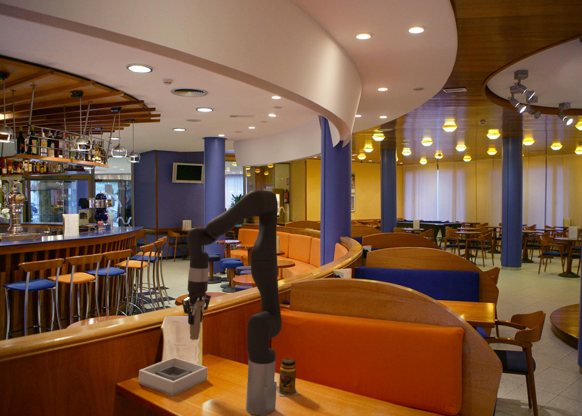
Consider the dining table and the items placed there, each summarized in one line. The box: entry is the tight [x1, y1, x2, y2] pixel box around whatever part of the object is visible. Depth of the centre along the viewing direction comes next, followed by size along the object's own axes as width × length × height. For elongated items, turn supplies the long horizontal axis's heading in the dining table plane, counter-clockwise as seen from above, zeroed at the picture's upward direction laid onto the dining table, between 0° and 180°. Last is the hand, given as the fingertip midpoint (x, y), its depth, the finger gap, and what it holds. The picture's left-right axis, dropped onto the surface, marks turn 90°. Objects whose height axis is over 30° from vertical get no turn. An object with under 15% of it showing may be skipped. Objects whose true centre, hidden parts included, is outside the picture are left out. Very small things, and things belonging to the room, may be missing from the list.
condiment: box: [276, 357, 300, 397], centre depth 163 cm, size 7×8×12 cm
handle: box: [189, 300, 206, 341], centre depth 166 cm, size 5×6×15 cm
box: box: [137, 356, 209, 397], centre depth 166 cm, size 18×18×5 cm
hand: (195, 322), depth 166 cm, fingers closed on handle, 4 cm apart
